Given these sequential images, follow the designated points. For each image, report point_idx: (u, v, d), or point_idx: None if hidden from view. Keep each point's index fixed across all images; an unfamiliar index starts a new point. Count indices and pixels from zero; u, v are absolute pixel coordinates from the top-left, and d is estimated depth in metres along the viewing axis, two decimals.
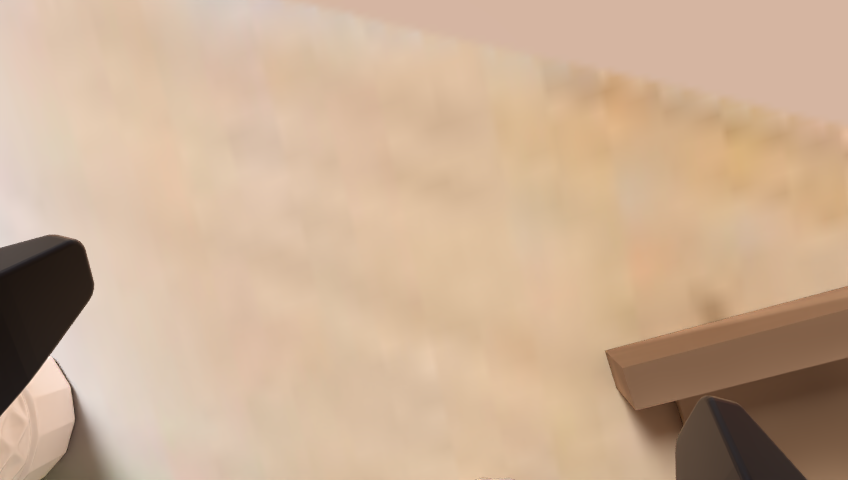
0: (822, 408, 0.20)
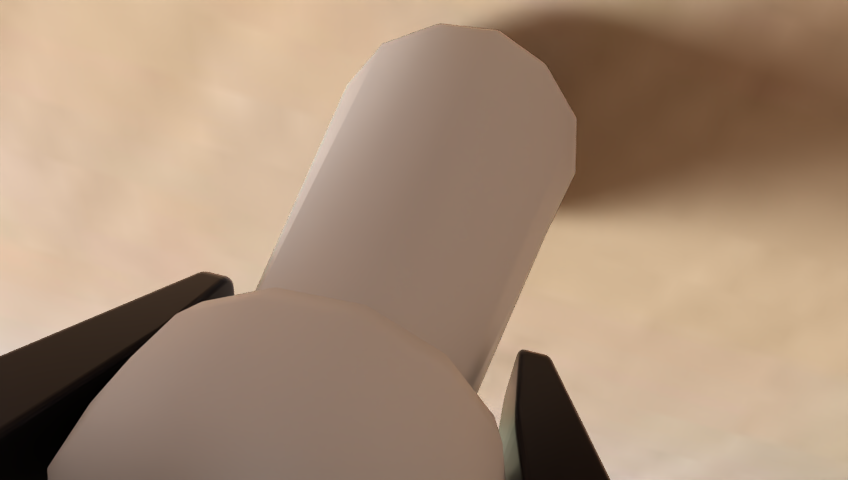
0: None
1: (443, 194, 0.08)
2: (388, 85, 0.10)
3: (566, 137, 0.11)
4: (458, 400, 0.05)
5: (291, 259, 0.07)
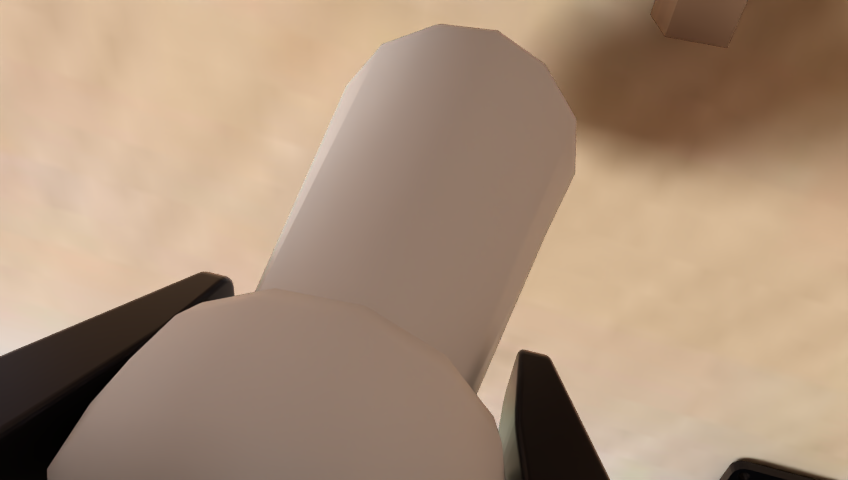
0: None
1: (442, 195, 0.08)
2: (388, 85, 0.10)
3: (566, 138, 0.11)
4: (458, 401, 0.05)
5: (291, 260, 0.07)
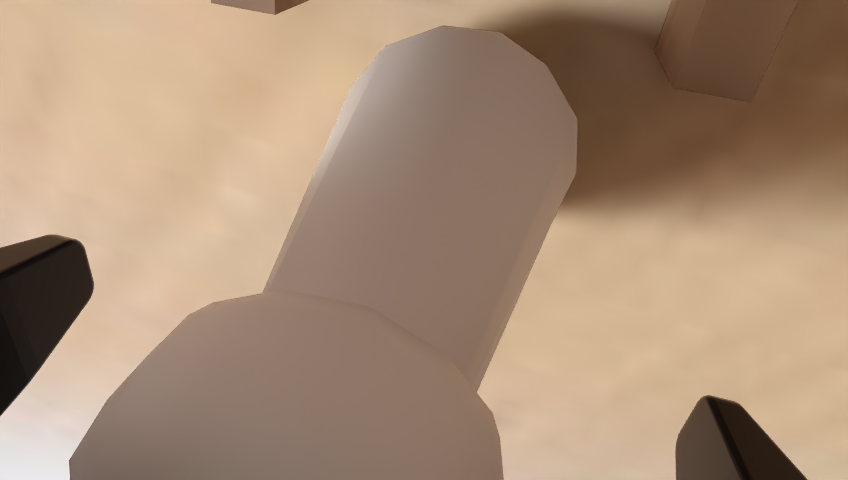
0: None
1: (445, 197, 0.08)
2: (392, 88, 0.10)
3: (567, 138, 0.12)
4: (457, 398, 0.05)
5: (297, 262, 0.07)
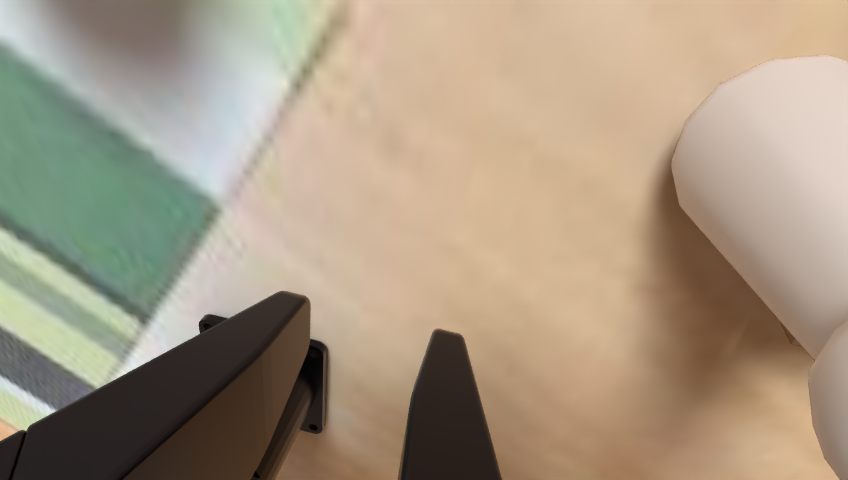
0: None
1: None
2: None
3: None
4: None
5: None
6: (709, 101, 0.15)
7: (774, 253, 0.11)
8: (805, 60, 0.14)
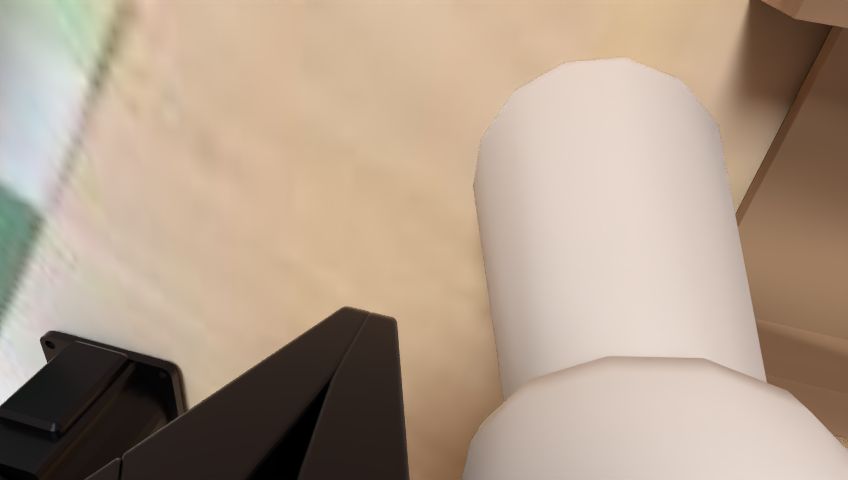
0: None
1: None
2: None
3: None
4: None
5: (760, 379, 0.07)
6: (501, 110, 0.13)
7: (503, 301, 0.09)
8: (596, 63, 0.12)
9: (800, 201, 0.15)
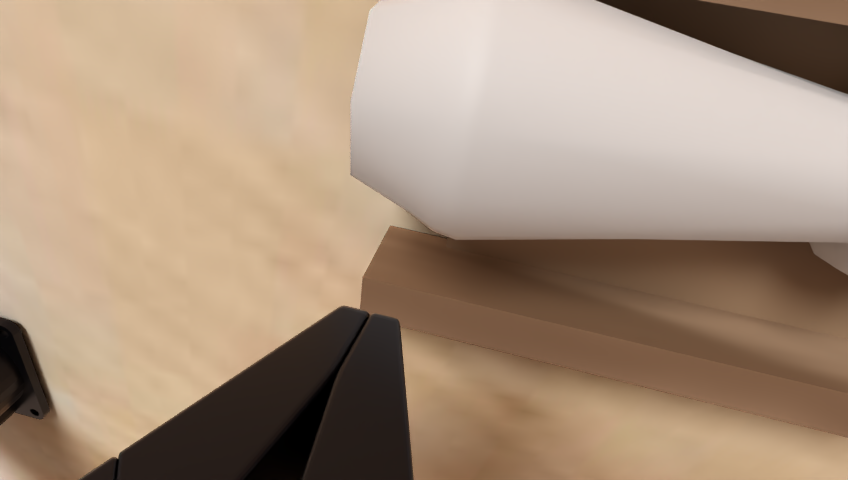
0: None
1: None
2: None
3: None
4: None
5: None
6: (499, 16, 0.10)
7: (775, 150, 0.10)
8: None
9: None
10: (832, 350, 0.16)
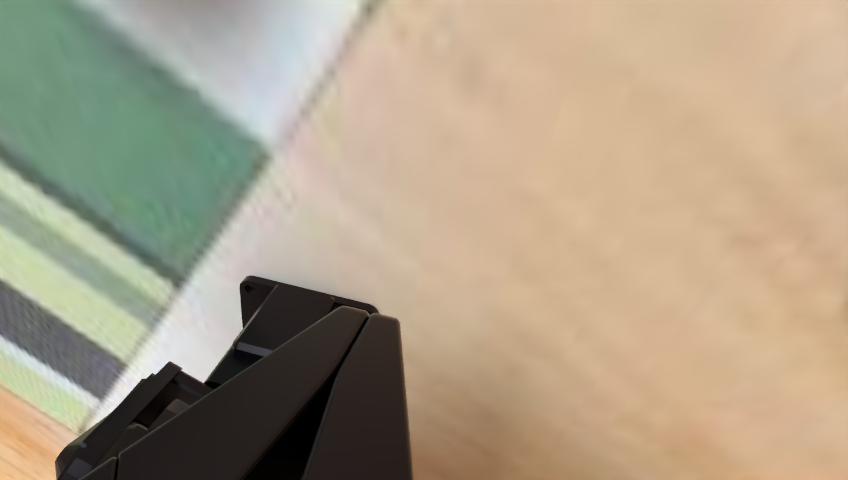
0: None
1: None
2: None
3: None
4: None
5: None
6: None
7: None
8: None
9: None
10: None
